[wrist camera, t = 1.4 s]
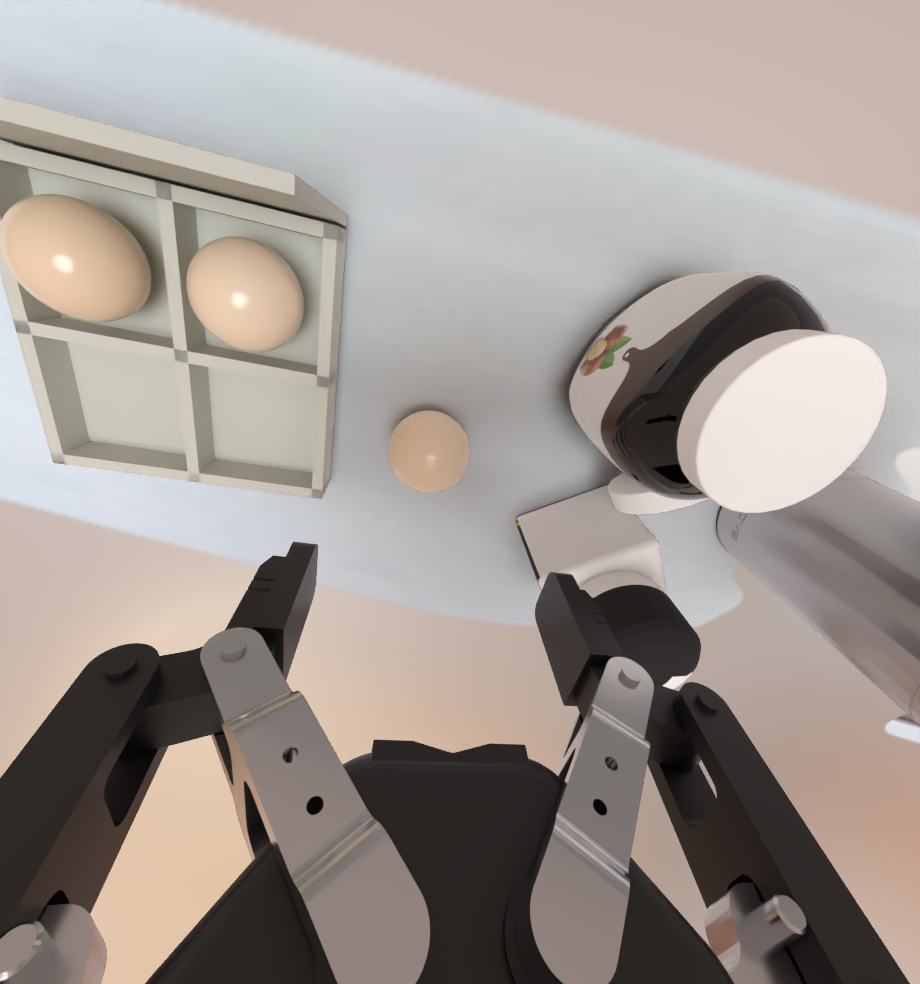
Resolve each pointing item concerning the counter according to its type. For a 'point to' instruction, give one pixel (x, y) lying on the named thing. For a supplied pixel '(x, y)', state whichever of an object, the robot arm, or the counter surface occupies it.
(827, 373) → the spread jar
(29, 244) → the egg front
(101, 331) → the egg tray
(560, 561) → the medicine bottle
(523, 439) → the counter surface
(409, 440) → the egg
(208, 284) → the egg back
